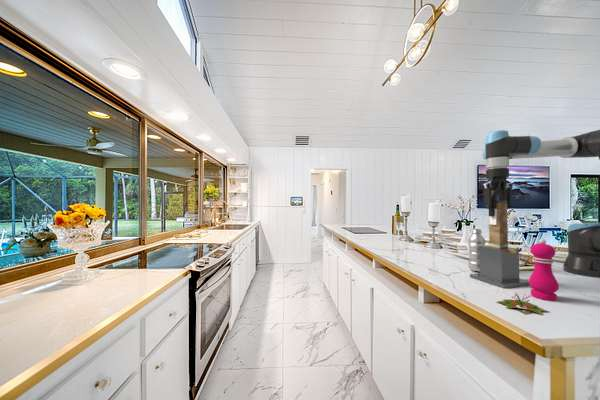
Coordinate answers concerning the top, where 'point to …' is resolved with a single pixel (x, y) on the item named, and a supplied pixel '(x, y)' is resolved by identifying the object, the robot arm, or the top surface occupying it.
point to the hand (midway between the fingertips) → (498, 224)
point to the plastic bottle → (475, 249)
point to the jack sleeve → (500, 267)
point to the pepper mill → (543, 272)
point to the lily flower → (520, 302)
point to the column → (499, 227)
